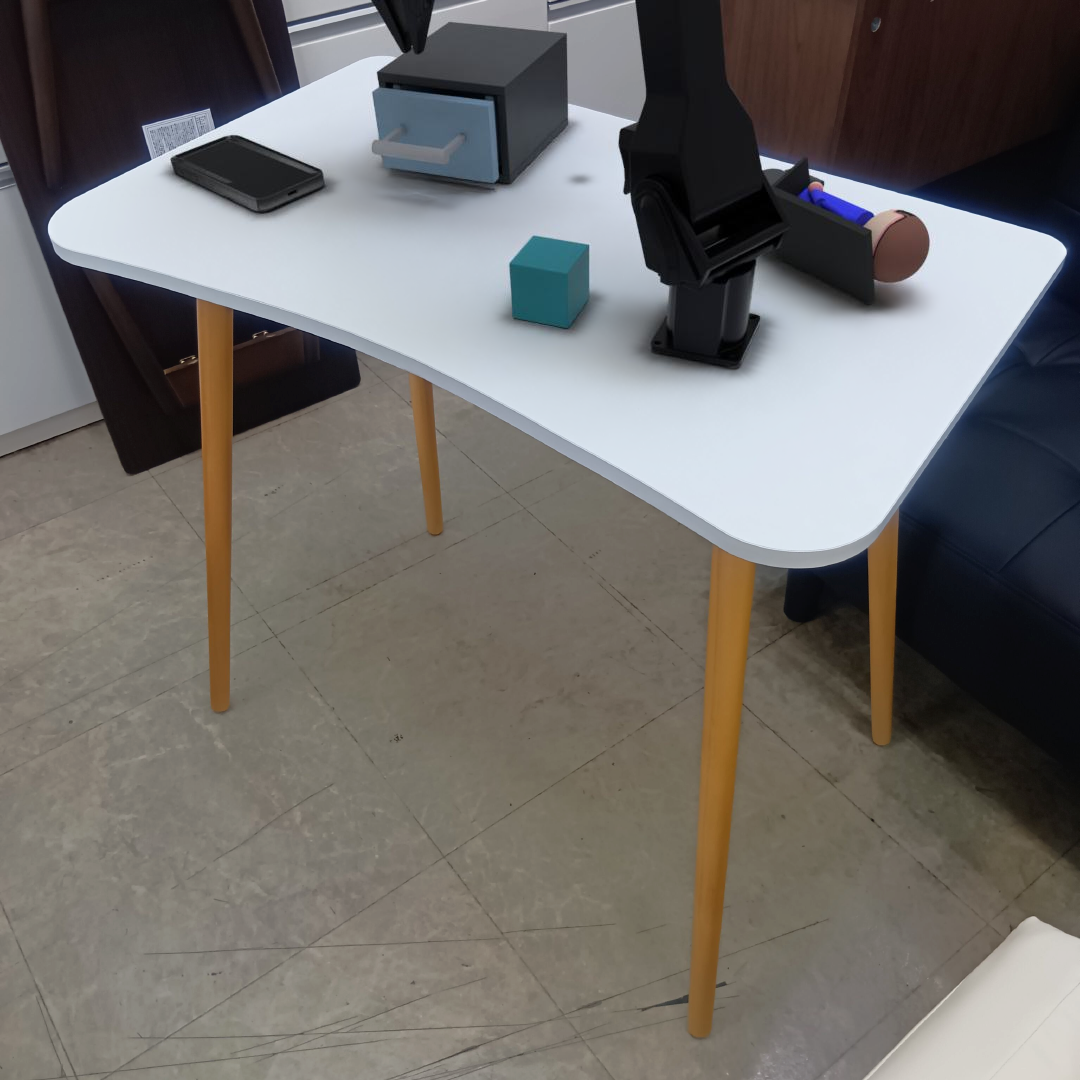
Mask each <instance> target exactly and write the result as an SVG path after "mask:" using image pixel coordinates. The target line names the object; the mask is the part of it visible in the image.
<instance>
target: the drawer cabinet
mask: <svg viewBox="0 0 1080 1080" xmlns="http://www.w3.org/2000/svg"><path fill="white" fill-rule="evenodd" d="M376 76H377V81H378V83H377V84H378V87H380V88H388V89H393V85H394V84H395V83H400V84H408V85H416V86H425V87H433V88H441V89H450V90H458V91H466V92H475V93H483V94H491V95H497V102H498V118H499V133H500V149H501V165H500V166H499V167H498V172H499V178H498V179H497V180H496V181H495V182H494V183H502V184H509V185H510V184H512V183H513V181H514V180H516V178H518V177H519V175H520V174H521V173H523V171H524V170H525V169H526V168H527V167H528V166H529V165H530V164H531V163H533V161H534V160H535V159H536V158H537V157H538V156H539V155H540V154H541V153H542V152H543V151H544V150H545V149H546V148H547V147H548V146H549V145H550V144H551V142H553V140H554V139H555V138H556V137H557V136H558V135H560V133H561V132H562V131H563V130H564V129H565V128H566V127H567V126H568V125H569V91H568V89H569V86H568V85H569V84H568V83H569V79H568V77H569V76H568V33H567V32H558V31H548V30H538V29H527V28H517V27H506V26H497V25H486V24H476V23H465V22H456V21H455V22H454V21H449V22H447V23H445V24H444V25H442V26H441V27H439V28H438V29H436V30H435V31H434V32H432V33H430V34H428V35H427V40H426V44H425V49H424V51H423V52H422V53H421V54H419V55H417V54H415V53H414V51H413V48H412V49H411V51H409V52H408V53H402V54H400V55H399V56H397V57H396V58H394V59H393V60H392V61H390V62H389V63H387V64H386V65H384V66H383V67H381V68H380V69H379V70H377V71H376Z"/></svg>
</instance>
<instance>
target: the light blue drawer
mask: <svg viewBox="0 0 1080 1080" xmlns="http://www.w3.org/2000/svg"><path fill="white" fill-rule="evenodd" d="M371 94H372V102H373V107H374V114H375V121H376V127H377V135H378V139H374V140H373V141H372V143H371V152H372V153H373V154H374V155H378V156H381V161H382V167H383V168H388V169H396V170H402V171H408V172H415V173H422V174H429V175H436V176H442V177H447V178H448V177H449V178H456V179H461V180H468V181H474V182H482V183H488V184H489V183H490V184H495V183H496V182H495V181H496V180H497V179H498V178H499V172H498V167H499V166H500V165H501V149H500V133H499V118H498V102H497V95H491V94H483V93H475V92H466V91H458V90H450V89H441V88H433V87H425V86H416V85H408V84H400V83H395V84H394V85H393V89H388V88H380V87H379V86H378V87H377V88H375V89H374V90H373V91H371Z"/></svg>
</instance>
